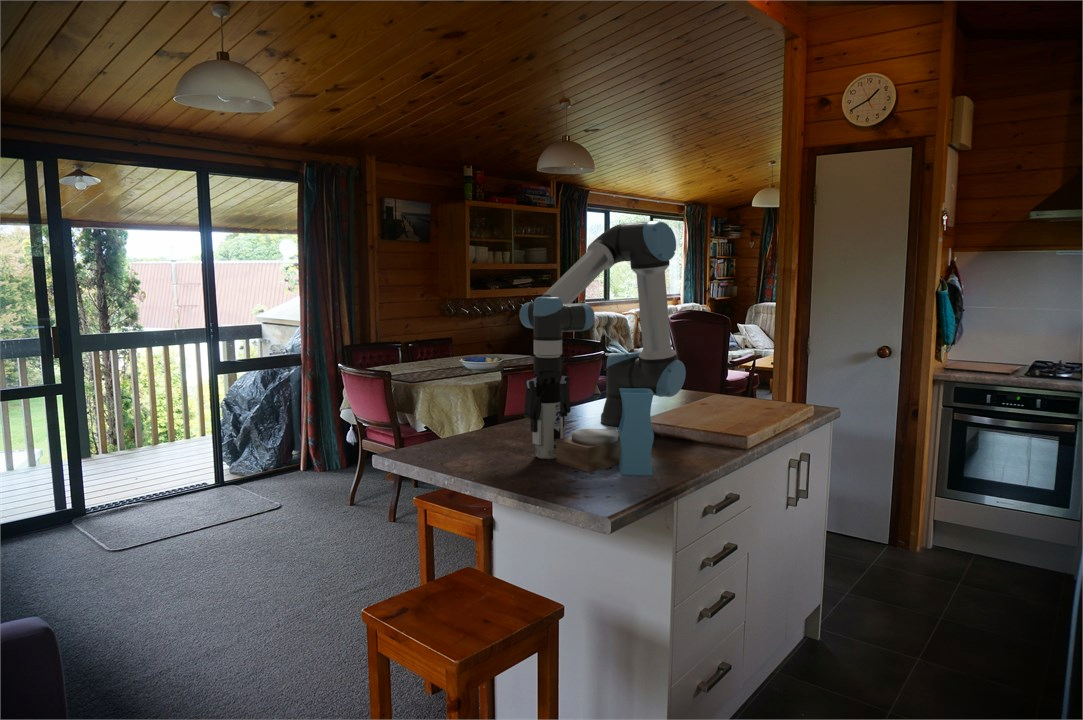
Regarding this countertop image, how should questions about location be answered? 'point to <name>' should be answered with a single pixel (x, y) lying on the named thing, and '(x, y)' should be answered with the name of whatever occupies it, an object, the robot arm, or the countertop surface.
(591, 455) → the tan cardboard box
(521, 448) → the countertop surface
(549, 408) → the spray can
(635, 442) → the vase
